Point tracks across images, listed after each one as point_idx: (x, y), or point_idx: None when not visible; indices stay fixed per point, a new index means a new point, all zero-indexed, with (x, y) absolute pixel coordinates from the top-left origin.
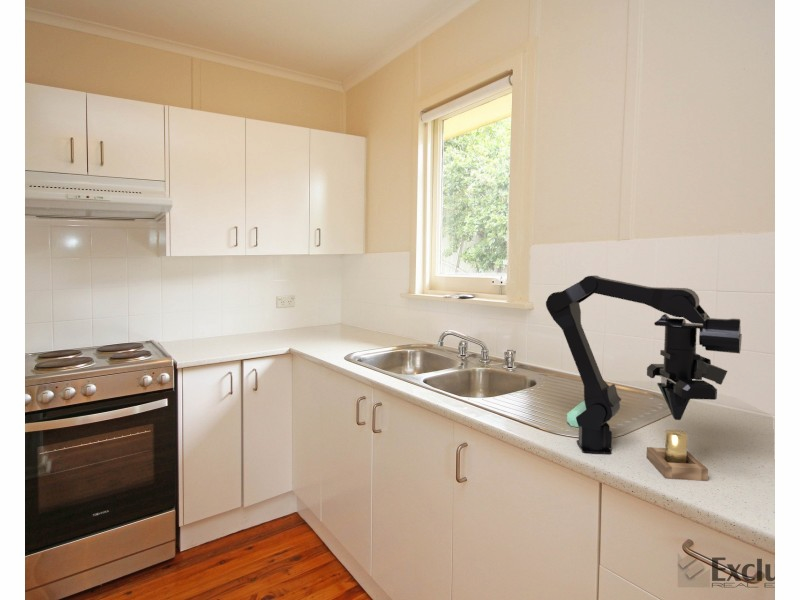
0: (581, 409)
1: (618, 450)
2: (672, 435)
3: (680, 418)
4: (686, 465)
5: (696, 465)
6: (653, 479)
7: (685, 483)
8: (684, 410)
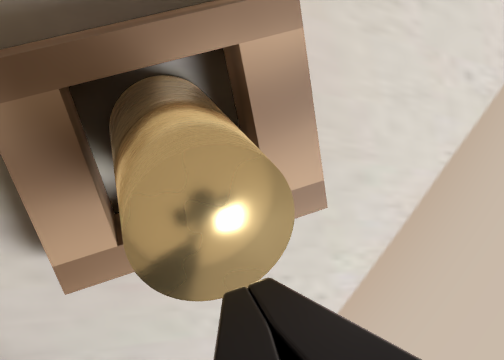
0: None
1: None
2: (278, 254)
3: (282, 289)
4: (281, 105)
5: (261, 47)
6: (321, 227)
7: (327, 104)
8: (374, 335)
